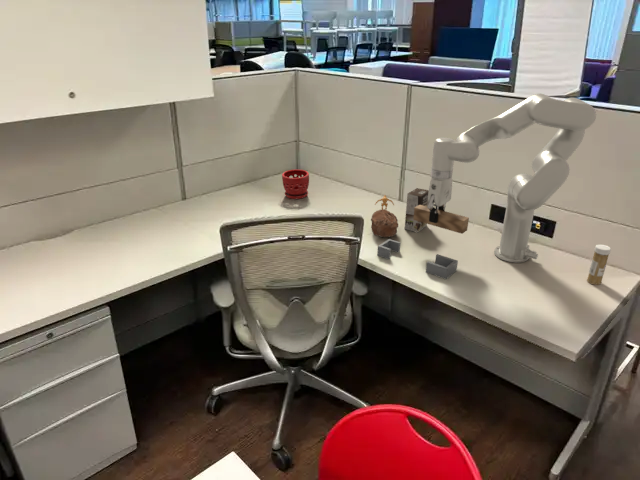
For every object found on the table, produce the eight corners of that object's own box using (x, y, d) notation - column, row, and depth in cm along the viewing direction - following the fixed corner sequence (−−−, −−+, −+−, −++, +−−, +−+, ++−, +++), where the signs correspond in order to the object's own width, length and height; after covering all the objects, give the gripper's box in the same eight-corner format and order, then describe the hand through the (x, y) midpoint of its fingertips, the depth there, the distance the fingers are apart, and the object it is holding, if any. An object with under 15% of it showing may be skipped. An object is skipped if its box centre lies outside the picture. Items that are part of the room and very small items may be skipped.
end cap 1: (399, 251, 189) (400, 242, 187) (388, 259, 184) (389, 249, 182) (388, 248, 192) (389, 238, 190) (377, 255, 186) (377, 246, 185)
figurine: (392, 217, 219) (394, 192, 214) (393, 223, 214) (395, 197, 209) (373, 217, 220) (375, 191, 215) (374, 222, 214) (375, 196, 209)
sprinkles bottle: (602, 286, 165) (612, 250, 160) (586, 283, 167) (596, 248, 161) (600, 280, 169) (610, 245, 163) (585, 277, 171) (595, 242, 165)
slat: (467, 230, 179) (468, 217, 177) (462, 233, 176) (464, 221, 174) (418, 216, 190) (419, 204, 188) (413, 219, 188) (414, 207, 186)
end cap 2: (456, 270, 176) (457, 260, 174) (446, 279, 170) (447, 269, 168) (436, 263, 180) (437, 254, 179) (425, 272, 175) (426, 262, 173)
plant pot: (282, 192, 249) (281, 169, 244) (308, 191, 251) (307, 168, 245) (283, 201, 238) (282, 178, 232) (310, 200, 239) (310, 176, 234)
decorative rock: (367, 228, 209) (368, 206, 205) (393, 226, 210) (395, 205, 206) (373, 241, 198) (374, 218, 193) (401, 240, 198) (402, 217, 194)
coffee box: (417, 232, 205) (421, 196, 198) (403, 229, 208) (406, 193, 201) (427, 225, 211) (431, 190, 204) (414, 222, 215) (417, 187, 208)
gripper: (439, 181, 168) (434, 230, 176) (461, 169, 179) (455, 216, 187) (420, 176, 172) (415, 224, 180) (443, 165, 183) (438, 211, 191)
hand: (436, 219), depth 183 cm, fingers closed on slat, 4 cm apart
